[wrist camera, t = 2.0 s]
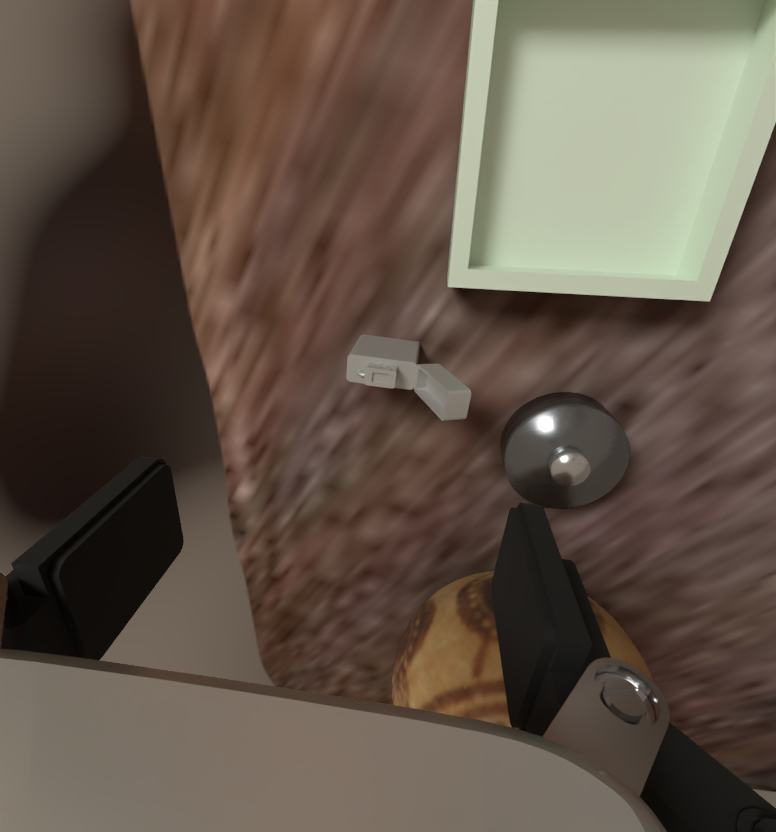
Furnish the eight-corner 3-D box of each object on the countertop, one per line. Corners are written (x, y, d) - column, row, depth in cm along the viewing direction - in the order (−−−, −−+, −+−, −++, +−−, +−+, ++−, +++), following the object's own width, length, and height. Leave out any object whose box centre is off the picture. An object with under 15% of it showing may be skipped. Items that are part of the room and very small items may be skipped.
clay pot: (383, 703, 42) (354, 985, 22) (412, 520, 41) (410, 647, 21) (578, 741, 41) (731, 1072, 21) (616, 555, 40) (817, 723, 20)
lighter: (358, 358, 30) (332, 406, 23) (360, 334, 29) (333, 376, 22) (460, 371, 29) (466, 425, 22) (464, 347, 29) (472, 395, 22)
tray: (787, -26, 19) (843, -62, 17) (681, 291, 26) (710, 301, 23) (475, -25, 20) (480, -59, 18) (447, 278, 27) (447, 287, 24)
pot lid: (630, 396, 29) (654, 421, 26) (600, 493, 32) (617, 525, 29) (510, 387, 30) (518, 410, 26) (493, 483, 33) (498, 513, 30)
